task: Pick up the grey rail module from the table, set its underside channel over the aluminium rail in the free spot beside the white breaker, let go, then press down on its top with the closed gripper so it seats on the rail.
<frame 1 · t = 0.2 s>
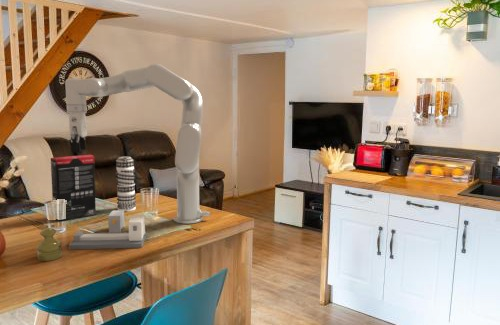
hand: (78, 150, 176), 31 cm above the table, tool pointing down, fingers open, 9 cm apart
olive green chess pawn: (49, 257, 142), on the table
striped tall cylinder: (126, 209, 202), on the table
rail board: (109, 242, 156), on the table
graphics card box: (75, 217, 188), on the table
grey module: (116, 229, 171), on the table
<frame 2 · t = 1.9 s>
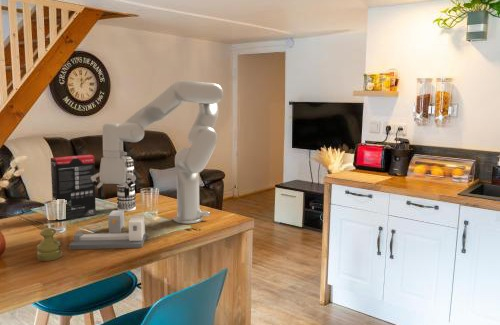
hand: (113, 197, 168), 13 cm above the table, tool pointing down, fingers open, 9 cm apart
nothing on the table moved.
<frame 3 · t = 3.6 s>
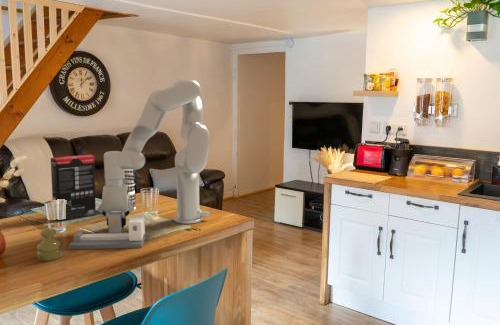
hand: (116, 226, 170), 1 cm above the table, tool pointing down, fingers closed on grey module, 4 cm apart
grey module: (116, 229, 171), on the table, touching gripper
everything else where it was.
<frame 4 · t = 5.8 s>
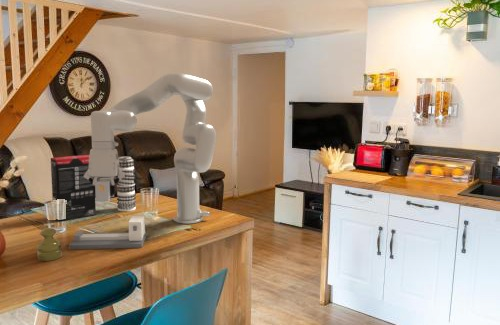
hand: (105, 195, 154), 18 cm above the table, tool pointing down, fingers closed on grey module, 4 cm apart
grey module: (105, 198, 155), point 16 cm above the table, touching gripper
everything else where it was.
when the fingers open (4 cm above the table, at t = 8.0 s): grey module stays where it is, resting on rail board.
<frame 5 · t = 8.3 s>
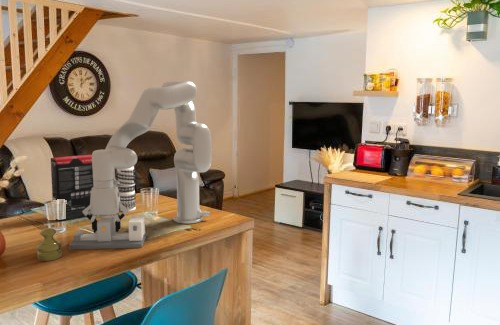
hand: (106, 231, 156), 4 cm above the table, tool pointing down, fingers open, 7 cm apart
grey module: (107, 237, 156), point 2 cm above the table, touching rail board
everything else where it was.
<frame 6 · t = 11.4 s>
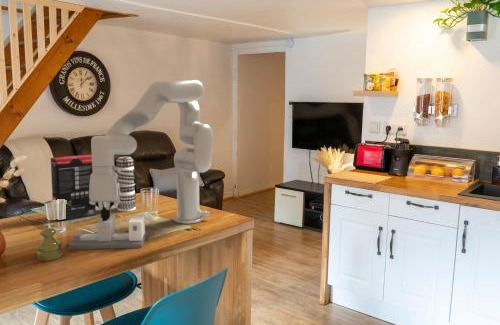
hand: (105, 219, 155), 9 cm above the table, tool pointing down, fingers closed
grey module: (107, 237, 156), point 2 cm above the table, touching gripper, rail board
everything else where it was.
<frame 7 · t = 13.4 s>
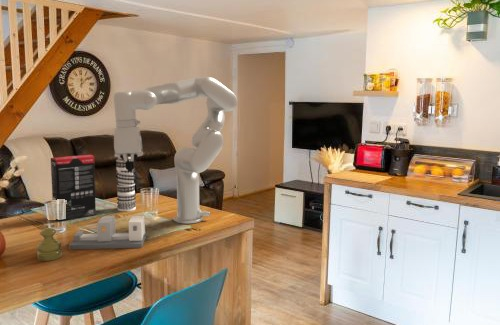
hand: (130, 171, 166), 24 cm above the table, tool pointing down, fingers closed
grey module: (107, 237, 156), point 2 cm above the table, touching rail board
everything else where it was.
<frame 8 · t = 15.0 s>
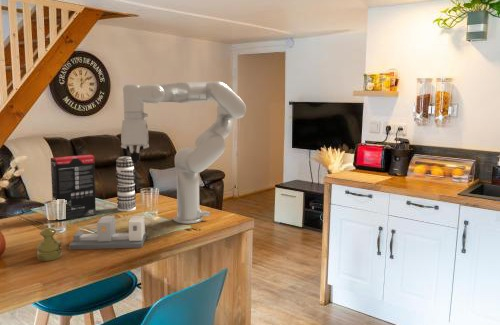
hand: (135, 162, 169), 27 cm above the table, tool pointing down, fingers closed
nothing on the table moved.
at the end: grey module 0.0 cm from the target spot on the rail board, point 1.7 cm above the rail board's base; grey module tilted 0°; the gripper is holding nothing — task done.
